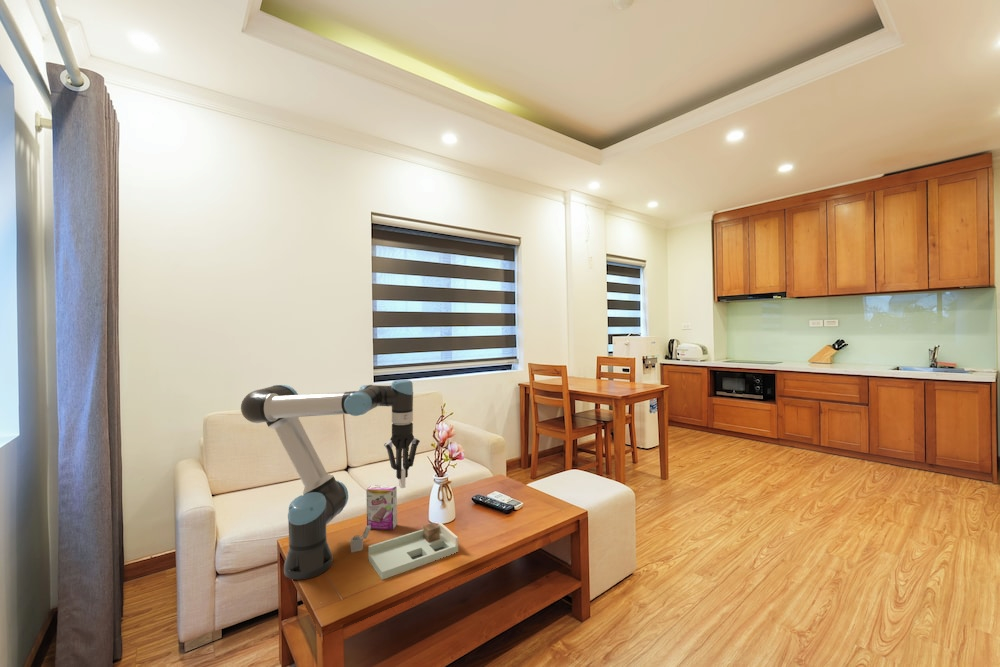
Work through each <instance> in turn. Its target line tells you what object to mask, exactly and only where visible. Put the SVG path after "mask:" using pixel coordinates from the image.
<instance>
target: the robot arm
mask: <svg viewBox="0 0 1000 667" xmlns="http://www.w3.org/2000/svg"><path fill="white" fill-rule="evenodd" d="M413 385H414V384H413V382H412V381H411V380H409V379H395V380H393V381H392V382H391V385H376V384H365V385H361V386H360V387H359V389H358V390H354V391H339V392H324V393H323V392H322V393H304V394H299V393H298V392H297V390H295V388H294V387H292V386H290V385H286V384H276V385H272V386H267V387H264V388H260V389H256V390H253V391H251V392H249V393H248V394H247V395H246V396H245V397H244V398H243V399H242V401H241V405H240V412H241V414H242V416H243V418H245V420H247V421H249V422H251V423H256V424H260V423H266V425H267V426H268V428H269V429H272V430H275V432H276V434H277V436H278V438H279V440H280V442H281V444H282V446H283V448H284V450H285V451H286V454H287V456H288V457H289V459H290V461H291V463H292V465H293V467H294V468H295V471H296V473H297V475H298V477H299V479H300V480H301V482H302V484H303V486H304V487H303V488H304V489H303V491H302V494H303V495H302V494H301V495H299V496H297V497H295V498H294V499H293V500H292V501H291V502H290V503H289V506H288V513H287V520H288V521H287V522H288V551H287V555H286V558H285V559H284V560H285V561H284V564H283V574H284V577H285V578H288V579H290V580H295V581H296V580H298V581H299V580H307V579H311V578H315V577H317V576H320V575H321V574H323V573H325V572H327V571H328V570H329V569H330V568H331V567H332V565H333V553H332V551H331V547H330V546H329V543H328V540H327V525H328V524H329V523H330V522H332V520H334V518H336V517H337V515H340V514H341V512H343V510H344V508H345V507H346V505H347V504H348V501H349V491H348V489H347V488H348V487H347V486H346V484H344V483H343V482H340V481H339V480H336V478H335V477H334V475H333V474H329V473H328V472H327V471H326V469H325V466H324V465H323V463H322V461H321V459H320V457H319V455H318V453H317V452H316V449H315V447H314V445H313V444H312V441H311V439H310V438H309V435H308V434H307V432H306V430H305V428H304V426H303V425H302V424H303V423H302V422H301V420H300V418H304V417H320V416H321V417H322V416H335V415H336V416H337V415H351V416H353V417H357V416H361V415H364V414H366V413H368V412H369V411H372V410H373V409H375V408H377V407H391V423H392V424H391V437H390V440H389V441H388V442H386V443H384V445H383V446H384V447H385V449H386V450H387V451H386V452H387V456H388V459H389V463H390V467H391V469H393V470H394V471H395V470H396V472H395V473H396V479H398V487H399V488H400V489H404V488H406V478H408V477H409V476H408V475H409V474H408V473H409V472H408V471H409V470H410V467H413V465H414V461H415V457H416V453H417V449H418V445H419V443H420V440H419V438H418V439H417V438H415V436H414V435H413V433H414V430H413V429H414V423H413V421H414V418H413V417H414V412H413V411H414V404H413V403H414V389H413V388H414V386H413ZM410 445H411V446H410ZM393 446H394V447H395V454H394V450H393Z"/></svg>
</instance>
